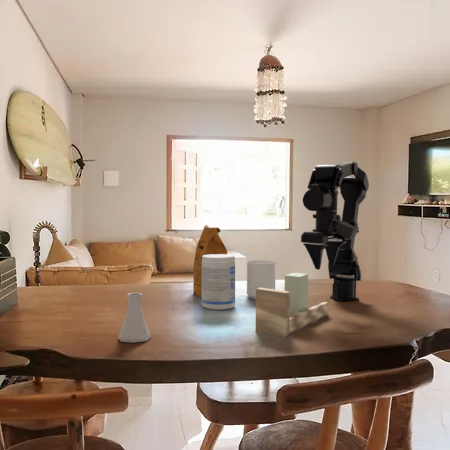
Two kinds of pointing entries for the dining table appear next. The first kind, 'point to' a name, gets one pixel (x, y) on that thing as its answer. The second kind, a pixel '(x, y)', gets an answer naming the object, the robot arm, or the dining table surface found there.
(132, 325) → the flask
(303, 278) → the pale green block
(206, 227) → the coffee package
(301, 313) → the track
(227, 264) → the supplement tub
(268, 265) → the mug
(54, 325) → the dining table surface
